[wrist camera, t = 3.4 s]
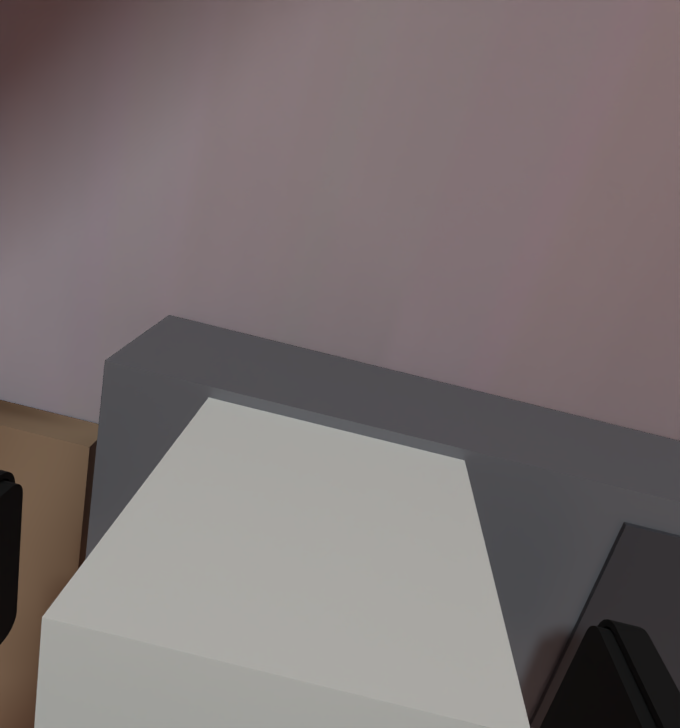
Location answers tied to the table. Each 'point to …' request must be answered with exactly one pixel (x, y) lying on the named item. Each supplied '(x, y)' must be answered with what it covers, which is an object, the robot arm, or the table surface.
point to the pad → (42, 535)
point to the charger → (284, 591)
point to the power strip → (450, 438)
